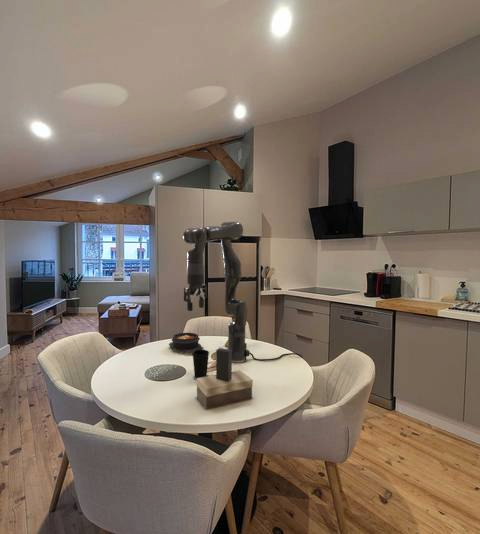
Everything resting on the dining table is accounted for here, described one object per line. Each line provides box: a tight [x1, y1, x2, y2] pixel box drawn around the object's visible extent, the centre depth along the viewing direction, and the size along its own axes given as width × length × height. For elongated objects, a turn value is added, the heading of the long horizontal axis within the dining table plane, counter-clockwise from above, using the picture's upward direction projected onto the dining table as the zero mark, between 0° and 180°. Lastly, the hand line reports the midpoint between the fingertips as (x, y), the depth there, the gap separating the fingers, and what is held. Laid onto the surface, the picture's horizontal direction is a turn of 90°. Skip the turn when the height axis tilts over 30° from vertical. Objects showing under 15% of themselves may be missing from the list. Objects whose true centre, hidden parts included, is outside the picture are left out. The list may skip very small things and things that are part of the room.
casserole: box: [168, 332, 204, 354], centre depth 189 cm, size 25×19×8 cm
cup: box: [192, 349, 210, 380], centre depth 147 cm, size 8×8×12 cm
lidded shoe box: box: [196, 369, 254, 410], centre depth 126 cm, size 20×11×8 cm, turn 116°
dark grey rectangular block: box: [215, 347, 233, 382], centre depth 126 cm, size 3×6×12 cm, turn 61°
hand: (195, 309), depth 140 cm, fingers open, 8 cm apart
